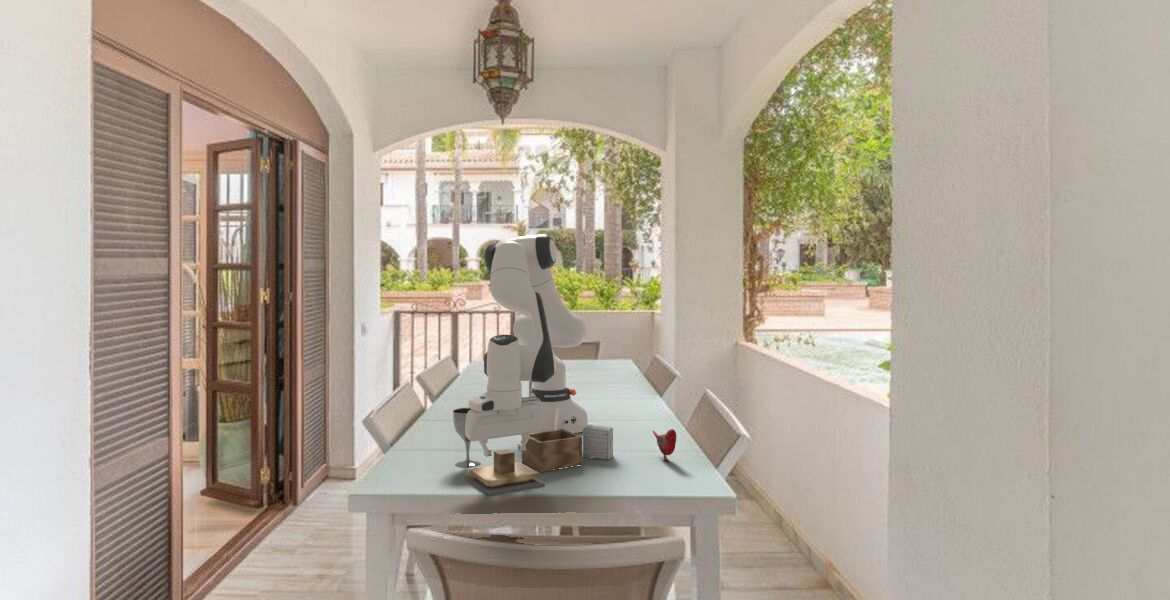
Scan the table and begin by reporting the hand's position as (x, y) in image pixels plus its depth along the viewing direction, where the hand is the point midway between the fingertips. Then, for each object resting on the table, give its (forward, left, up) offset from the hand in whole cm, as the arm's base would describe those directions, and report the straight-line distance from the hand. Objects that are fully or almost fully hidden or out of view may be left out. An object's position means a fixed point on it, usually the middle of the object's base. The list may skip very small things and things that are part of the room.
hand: (504, 453), depth 183 cm
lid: (0, 0, -6) cm, 6 cm away
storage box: (-18, -8, -7) cm, 21 cm away
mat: (0, 0, -7) cm, 7 cm away
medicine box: (-33, -8, -8) cm, 34 cm away
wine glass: (+2, -20, -8) cm, 21 cm away
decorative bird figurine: (-48, +3, -8) cm, 48 cm away
